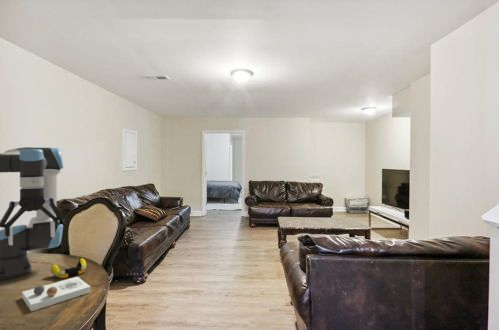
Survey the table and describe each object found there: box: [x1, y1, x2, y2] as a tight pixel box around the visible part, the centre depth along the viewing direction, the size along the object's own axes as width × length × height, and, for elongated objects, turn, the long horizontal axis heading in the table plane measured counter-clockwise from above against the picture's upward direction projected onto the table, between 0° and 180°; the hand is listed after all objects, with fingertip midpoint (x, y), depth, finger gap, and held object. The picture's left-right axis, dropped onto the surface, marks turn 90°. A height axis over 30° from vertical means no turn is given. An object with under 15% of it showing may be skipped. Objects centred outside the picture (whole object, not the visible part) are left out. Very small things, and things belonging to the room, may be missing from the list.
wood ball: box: [47, 287, 57, 296], centre depth 109 cm, size 3×3×3 cm
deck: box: [21, 276, 92, 312], centre depth 115 cm, size 16×20×2 cm
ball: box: [33, 285, 44, 295], centre depth 110 cm, size 3×3×3 cm
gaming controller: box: [50, 258, 87, 279], centre depth 137 cm, size 15×6×10 cm
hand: (32, 240), depth 111 cm, fingers open, 13 cm apart
